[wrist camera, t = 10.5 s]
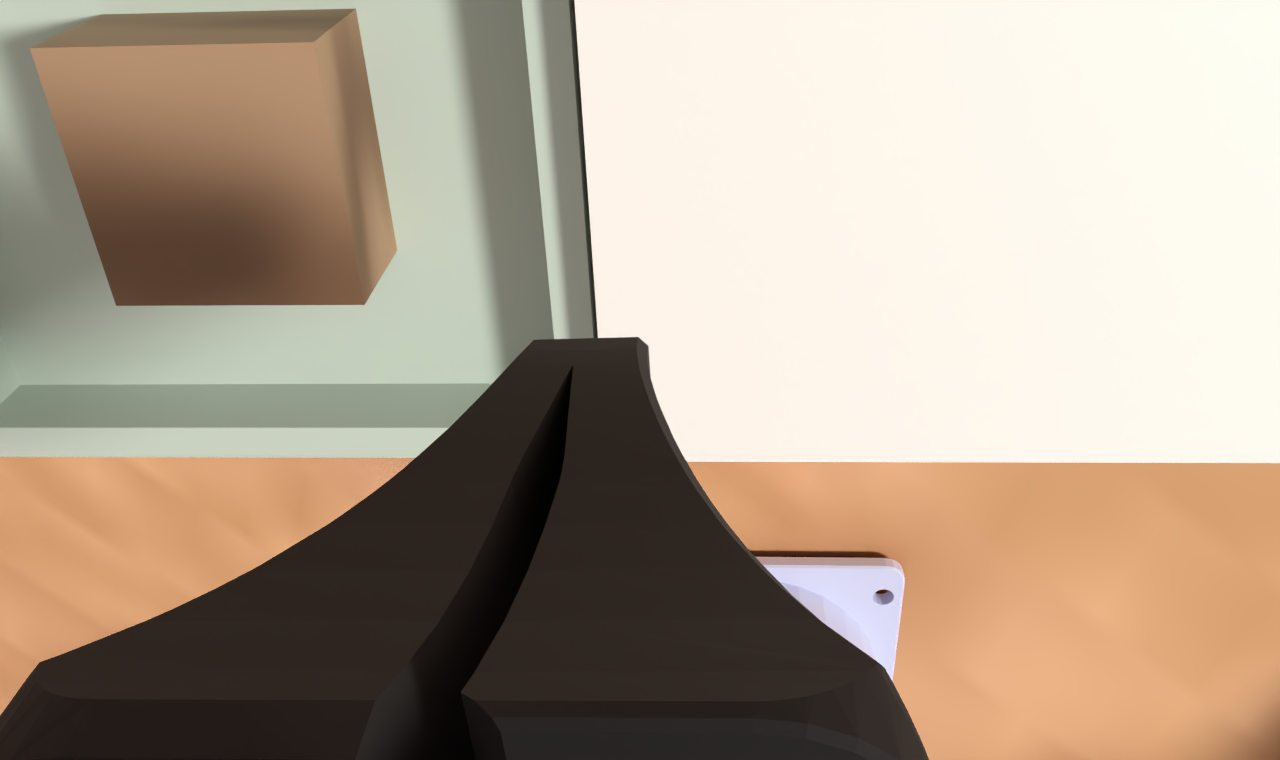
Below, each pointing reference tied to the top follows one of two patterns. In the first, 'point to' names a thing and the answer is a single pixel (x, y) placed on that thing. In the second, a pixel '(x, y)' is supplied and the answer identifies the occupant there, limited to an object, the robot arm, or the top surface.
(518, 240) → the tray
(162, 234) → the walnut tile
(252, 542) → the top surface
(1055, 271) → the board
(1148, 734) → the top surface
